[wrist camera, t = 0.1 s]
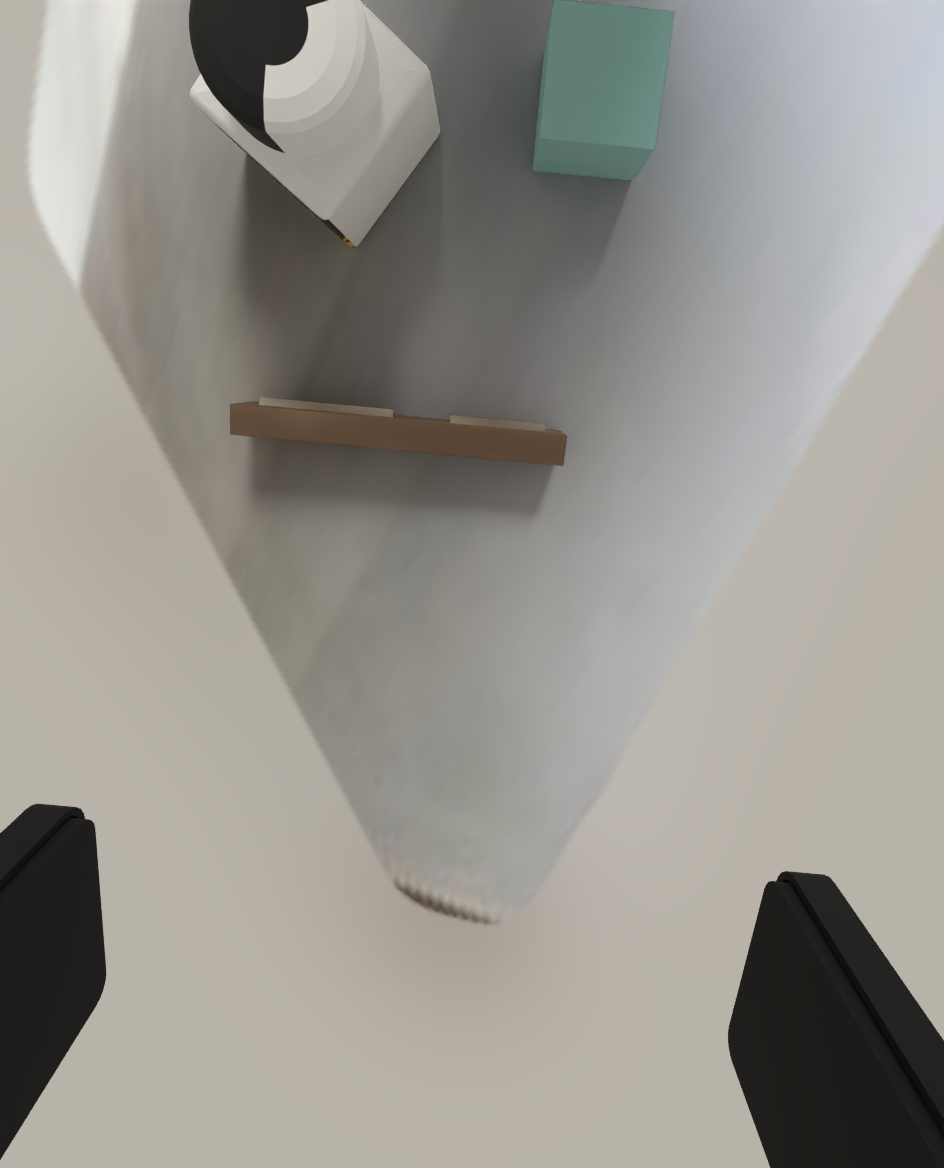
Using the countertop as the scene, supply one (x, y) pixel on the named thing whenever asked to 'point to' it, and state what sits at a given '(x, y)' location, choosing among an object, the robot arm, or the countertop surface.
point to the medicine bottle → (316, 100)
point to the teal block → (601, 89)
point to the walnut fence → (397, 430)
